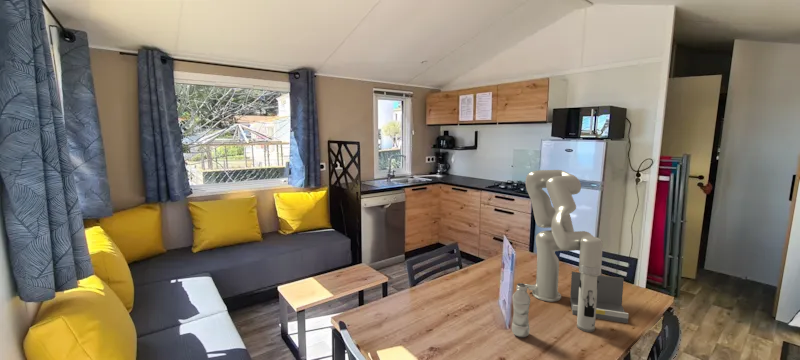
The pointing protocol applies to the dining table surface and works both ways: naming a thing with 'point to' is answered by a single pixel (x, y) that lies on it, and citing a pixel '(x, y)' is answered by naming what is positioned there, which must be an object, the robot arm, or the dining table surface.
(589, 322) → the travel mug
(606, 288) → the grey bookend
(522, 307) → the plastic bottle
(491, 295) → the dining table surface
